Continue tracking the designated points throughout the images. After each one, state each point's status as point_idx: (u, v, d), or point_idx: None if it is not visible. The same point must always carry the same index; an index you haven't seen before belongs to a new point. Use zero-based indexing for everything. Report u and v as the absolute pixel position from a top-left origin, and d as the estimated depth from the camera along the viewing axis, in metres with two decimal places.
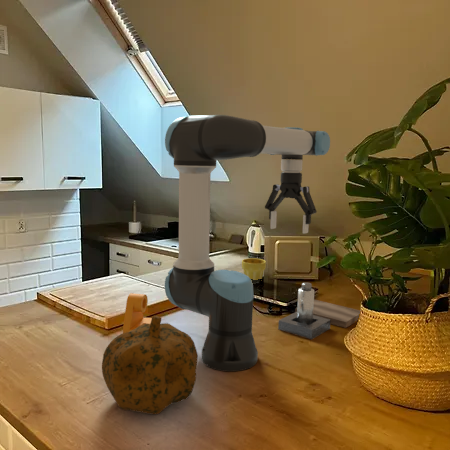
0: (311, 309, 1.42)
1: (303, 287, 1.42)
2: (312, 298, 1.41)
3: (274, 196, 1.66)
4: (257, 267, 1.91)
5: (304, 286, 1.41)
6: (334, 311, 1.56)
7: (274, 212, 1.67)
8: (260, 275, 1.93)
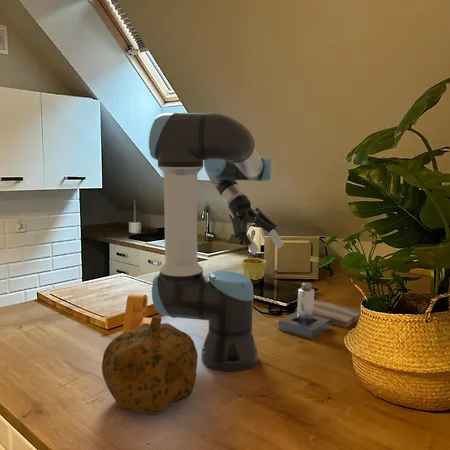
0: (311, 309, 1.42)
1: (303, 287, 1.42)
2: (312, 298, 1.41)
3: None
4: (257, 267, 1.91)
5: (304, 286, 1.41)
6: (334, 311, 1.56)
7: None
8: (260, 275, 1.93)
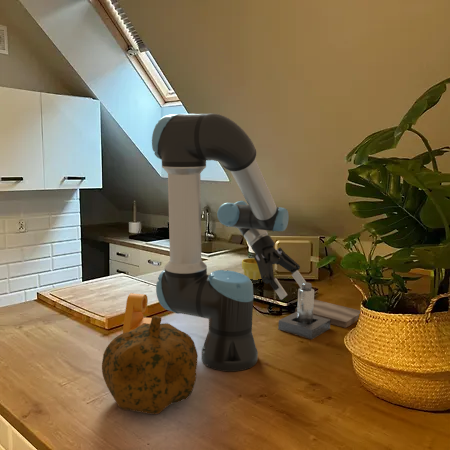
0: (311, 309, 1.42)
1: (303, 287, 1.42)
2: (312, 298, 1.41)
3: None
4: (257, 267, 1.91)
5: (304, 286, 1.41)
6: (334, 311, 1.56)
7: None
8: (260, 275, 1.93)
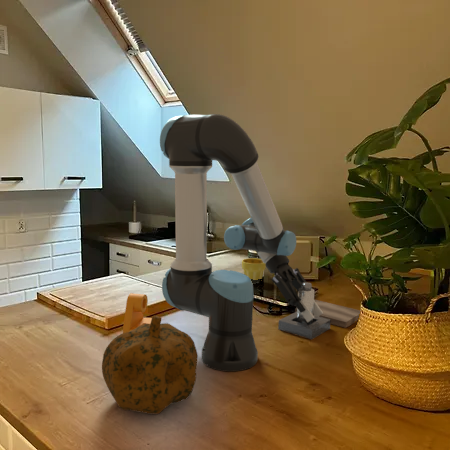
0: (311, 309, 1.42)
1: (303, 287, 1.42)
2: (312, 298, 1.41)
3: None
4: (257, 267, 1.91)
5: (304, 286, 1.41)
6: (334, 311, 1.56)
7: None
8: (260, 275, 1.93)
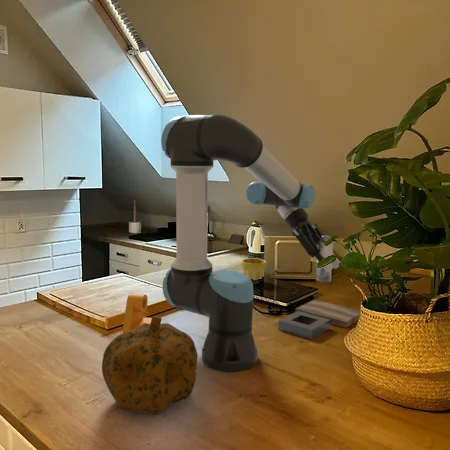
0: None
1: (322, 239, 1.48)
2: (331, 249, 1.48)
3: None
4: (257, 267, 1.91)
5: (323, 238, 1.48)
6: (334, 311, 1.56)
7: None
8: (260, 275, 1.93)
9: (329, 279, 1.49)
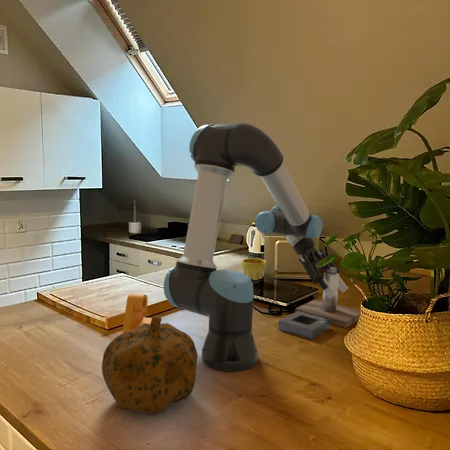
0: (336, 291, 1.54)
1: (329, 271, 1.54)
2: (337, 281, 1.54)
3: None
4: (257, 267, 1.91)
5: (330, 270, 1.54)
6: None
7: None
8: (260, 275, 1.93)
9: (335, 309, 1.55)
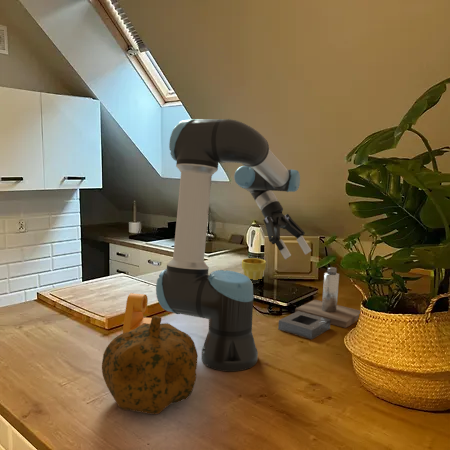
0: (336, 291, 1.54)
1: (329, 271, 1.54)
2: (337, 281, 1.54)
3: None
4: (257, 267, 1.91)
5: (330, 270, 1.54)
6: None
7: None
8: (260, 275, 1.93)
9: (335, 309, 1.55)
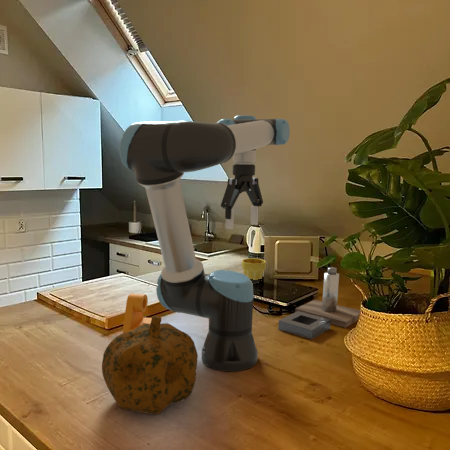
0: (336, 291, 1.54)
1: (329, 271, 1.54)
2: (337, 281, 1.54)
3: None
4: (257, 267, 1.91)
5: (330, 270, 1.54)
6: None
7: None
8: (260, 275, 1.93)
9: (335, 309, 1.55)
